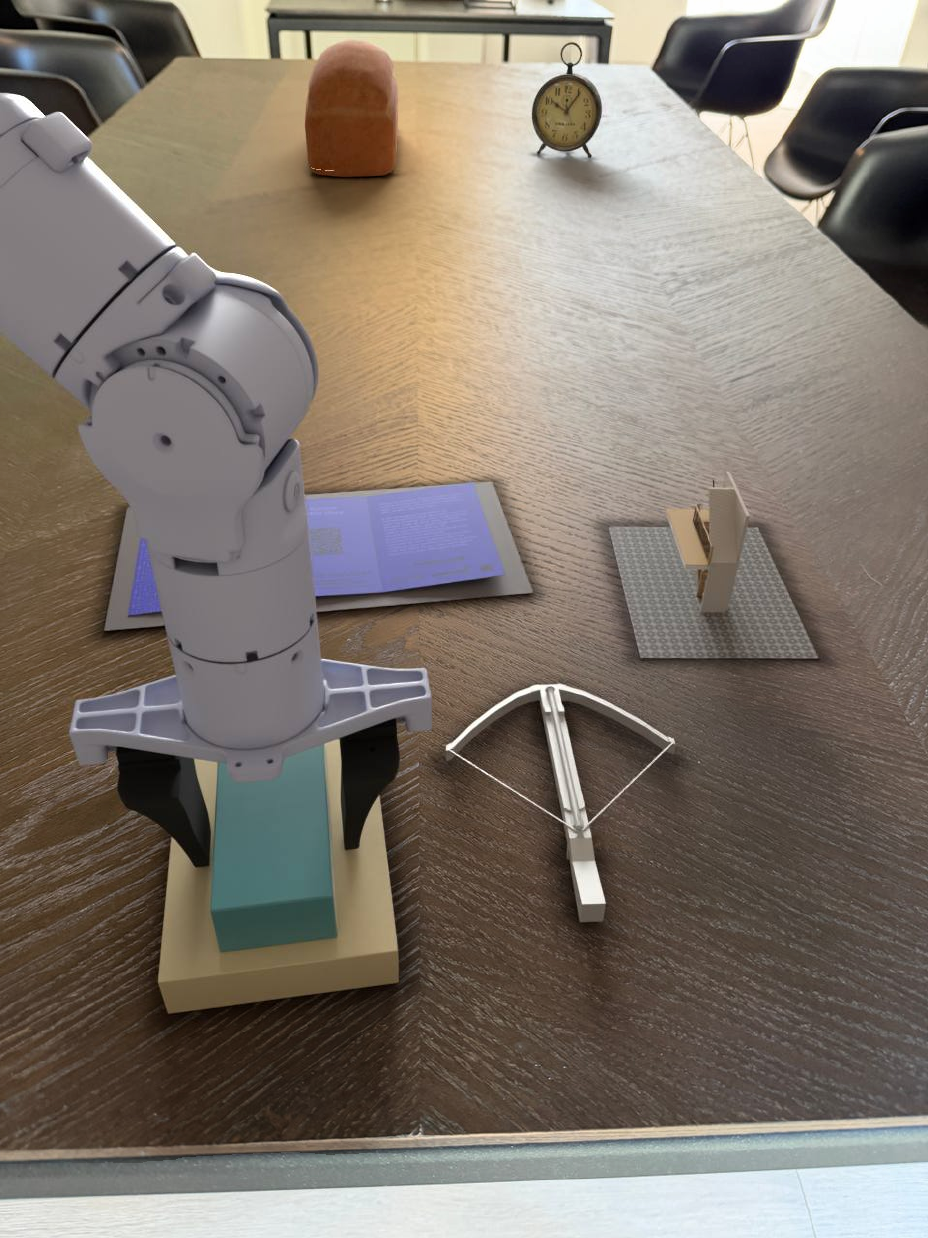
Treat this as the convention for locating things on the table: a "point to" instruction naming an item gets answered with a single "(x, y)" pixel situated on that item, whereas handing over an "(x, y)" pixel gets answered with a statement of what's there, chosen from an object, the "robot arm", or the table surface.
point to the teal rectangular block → (274, 857)
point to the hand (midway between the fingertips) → (277, 841)
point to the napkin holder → (707, 586)
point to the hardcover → (285, 970)
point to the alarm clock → (567, 110)
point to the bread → (352, 111)
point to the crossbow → (568, 777)
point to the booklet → (369, 552)
